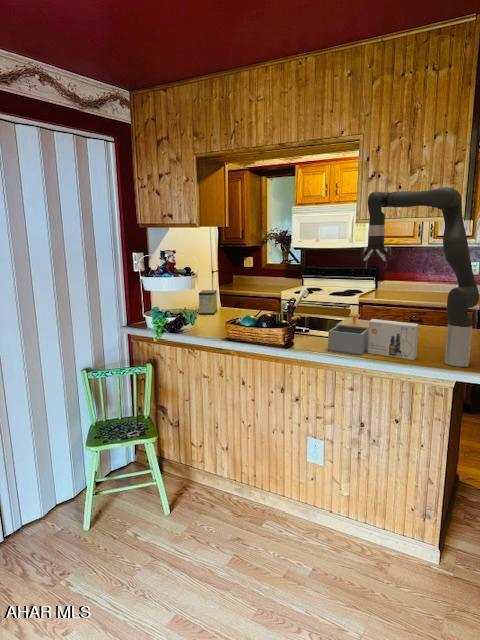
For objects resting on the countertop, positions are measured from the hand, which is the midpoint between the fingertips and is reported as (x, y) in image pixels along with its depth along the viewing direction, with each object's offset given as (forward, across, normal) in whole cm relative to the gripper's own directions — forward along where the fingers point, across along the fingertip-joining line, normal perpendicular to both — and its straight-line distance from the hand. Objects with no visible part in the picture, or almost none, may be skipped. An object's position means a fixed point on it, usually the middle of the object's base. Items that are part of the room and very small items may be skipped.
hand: (374, 268), depth 209 cm
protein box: (+38, +122, -32) cm, 132 cm away
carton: (+38, +7, +14) cm, 41 cm away
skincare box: (+38, -13, +15) cm, 43 cm away
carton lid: (+28, +7, +2) cm, 29 cm away
